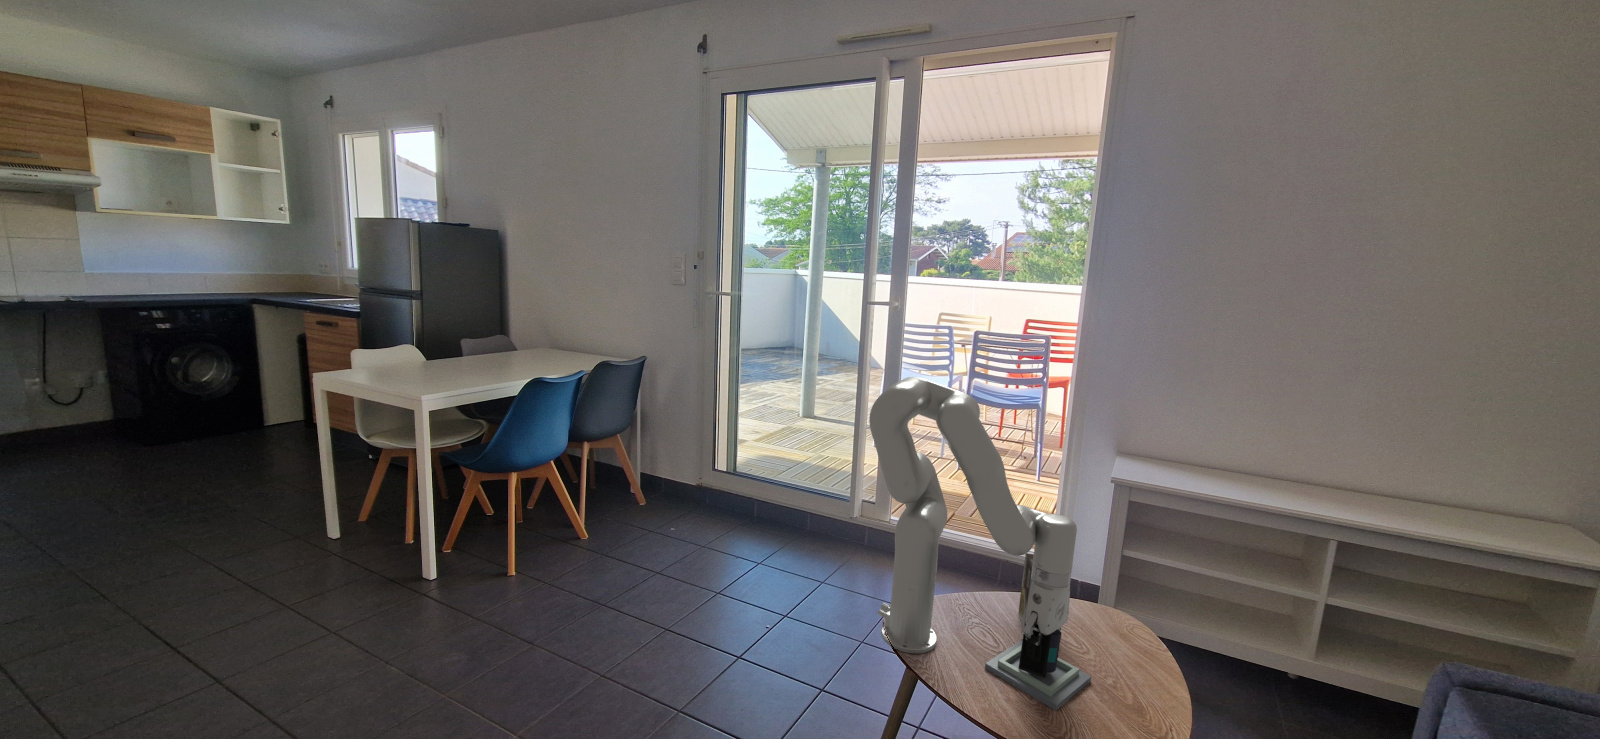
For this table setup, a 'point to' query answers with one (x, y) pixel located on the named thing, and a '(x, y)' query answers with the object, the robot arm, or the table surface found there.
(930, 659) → the table surface
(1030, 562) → the coffee box
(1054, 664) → the speaker
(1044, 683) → the dock
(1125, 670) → the table surface
